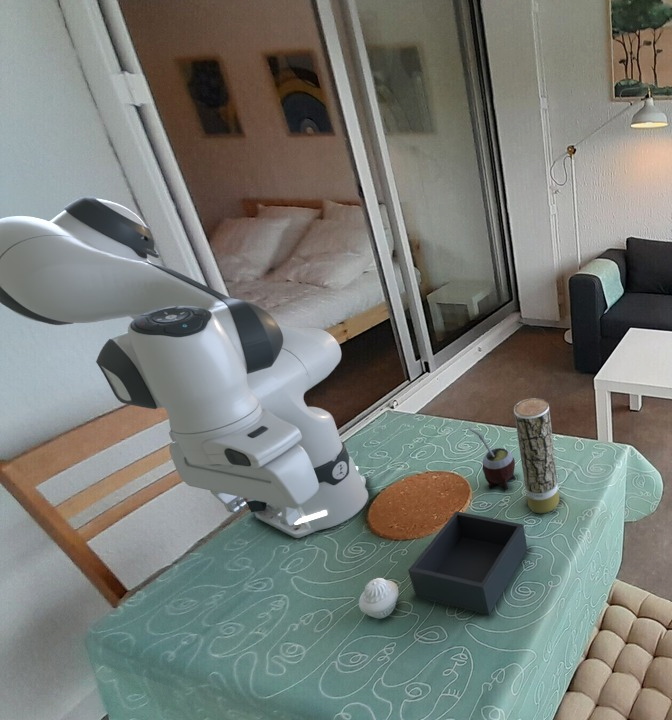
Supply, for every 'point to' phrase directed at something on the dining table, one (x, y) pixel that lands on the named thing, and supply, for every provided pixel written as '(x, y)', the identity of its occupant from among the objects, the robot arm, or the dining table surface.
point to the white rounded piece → (379, 598)
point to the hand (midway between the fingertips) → (264, 515)
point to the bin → (469, 562)
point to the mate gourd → (497, 465)
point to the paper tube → (537, 454)
